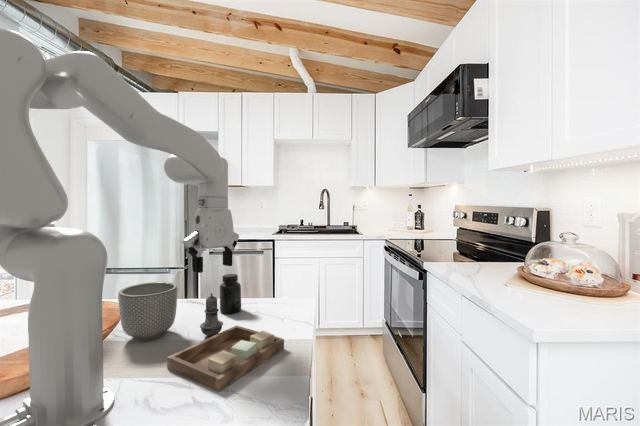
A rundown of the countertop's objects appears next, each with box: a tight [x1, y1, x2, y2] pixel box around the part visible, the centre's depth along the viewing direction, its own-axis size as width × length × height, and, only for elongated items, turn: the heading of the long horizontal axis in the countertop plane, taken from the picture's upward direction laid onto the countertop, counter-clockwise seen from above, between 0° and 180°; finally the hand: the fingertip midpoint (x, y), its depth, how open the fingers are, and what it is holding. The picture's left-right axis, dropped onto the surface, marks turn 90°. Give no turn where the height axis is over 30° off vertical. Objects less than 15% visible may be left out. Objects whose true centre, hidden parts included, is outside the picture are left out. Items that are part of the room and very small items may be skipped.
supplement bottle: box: [219, 273, 242, 315], centre depth 103 cm, size 7×7×12 cm
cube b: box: [231, 340, 257, 364], centre depth 68 cm, size 4×4×4 cm
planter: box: [117, 281, 179, 343], centre depth 83 cm, size 14×14×13 cm
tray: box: [166, 324, 285, 393], centre depth 71 cm, size 20×16×3 cm
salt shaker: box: [199, 293, 224, 338], centre depth 82 cm, size 6×6×12 cm
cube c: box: [250, 330, 275, 352], centre depth 74 cm, size 4×4×4 cm
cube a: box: [208, 351, 237, 375], centre depth 63 cm, size 4×4×4 cm
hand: (213, 268), depth 82 cm, fingers open, 9 cm apart
